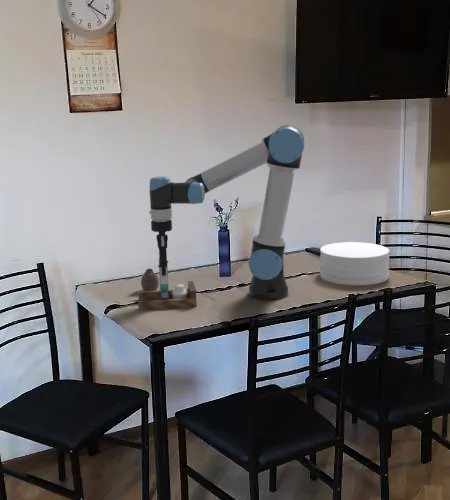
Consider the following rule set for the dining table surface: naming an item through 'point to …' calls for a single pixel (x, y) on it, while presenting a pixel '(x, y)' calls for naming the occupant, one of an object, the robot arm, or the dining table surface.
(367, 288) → the dining table surface
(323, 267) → the plate stack
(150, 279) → the vase
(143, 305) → the wooden tray
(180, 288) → the white rounded lump
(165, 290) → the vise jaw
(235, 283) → the dining table surface
